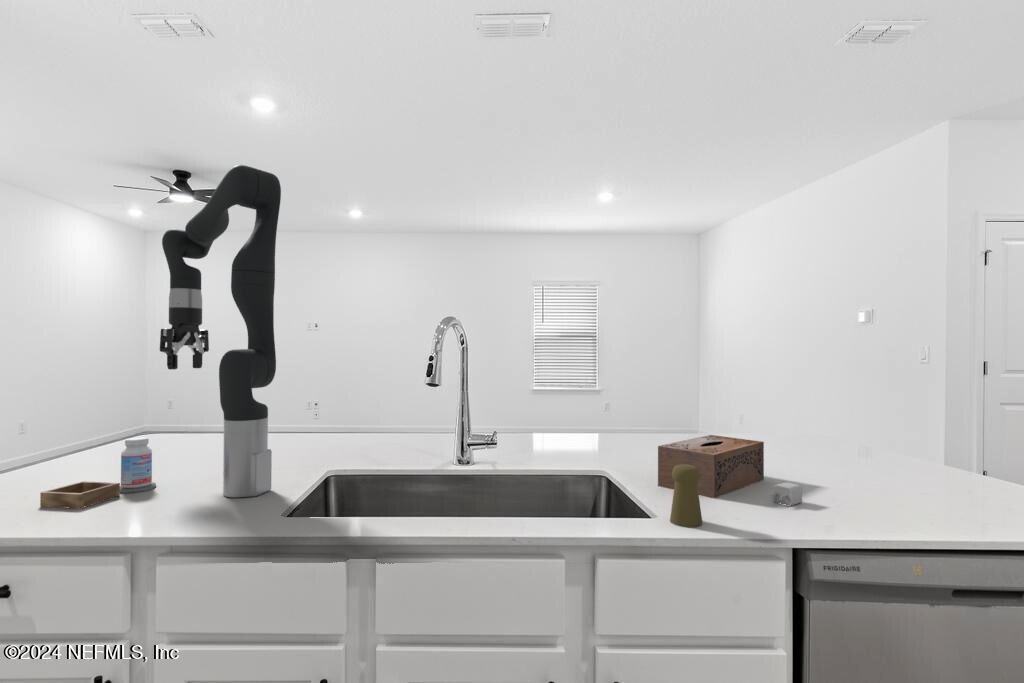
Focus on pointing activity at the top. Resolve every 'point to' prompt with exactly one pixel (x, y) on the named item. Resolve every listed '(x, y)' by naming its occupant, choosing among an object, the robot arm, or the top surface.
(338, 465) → the top surface
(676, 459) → the tissue box cover
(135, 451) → the pill bottle
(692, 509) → the cork
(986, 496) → the top surface
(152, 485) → the slate coaster
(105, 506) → the top surface
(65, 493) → the wooden tray
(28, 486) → the top surface
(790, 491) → the usb wall charger
